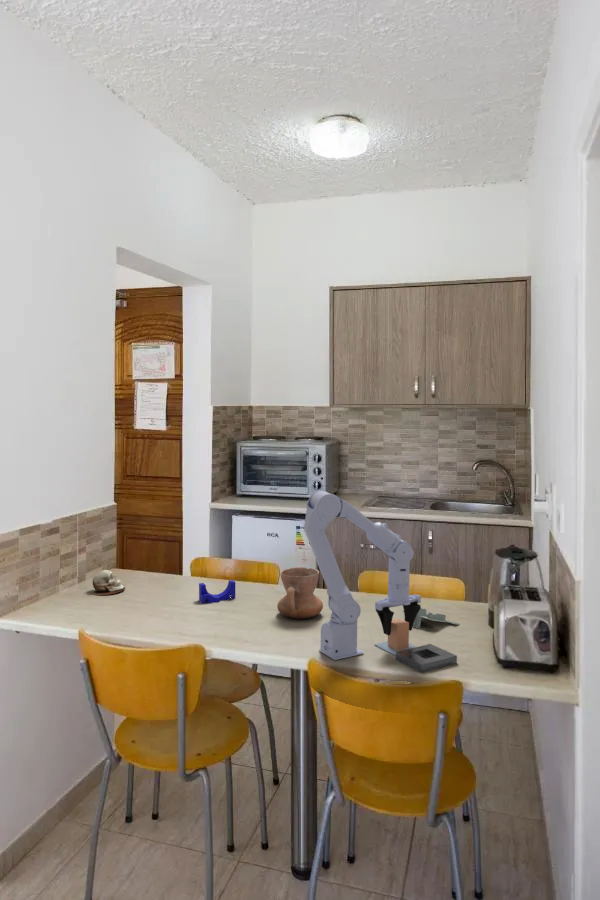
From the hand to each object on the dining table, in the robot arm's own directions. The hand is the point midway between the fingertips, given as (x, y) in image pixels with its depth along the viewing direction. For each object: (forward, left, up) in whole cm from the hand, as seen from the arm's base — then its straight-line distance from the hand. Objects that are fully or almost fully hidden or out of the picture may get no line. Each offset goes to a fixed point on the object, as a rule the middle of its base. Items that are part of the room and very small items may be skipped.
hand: (397, 631), depth 180 cm
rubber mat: (0, 0, -4) cm, 4 cm away
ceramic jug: (-9, +38, -5) cm, 39 cm away
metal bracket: (+22, +12, -5) cm, 25 cm away
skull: (-54, +96, -5) cm, 110 cm away
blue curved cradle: (-24, +66, -5) cm, 70 cm away
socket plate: (0, -12, -4) cm, 12 cm away
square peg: (0, 0, -4) cm, 4 cm away
